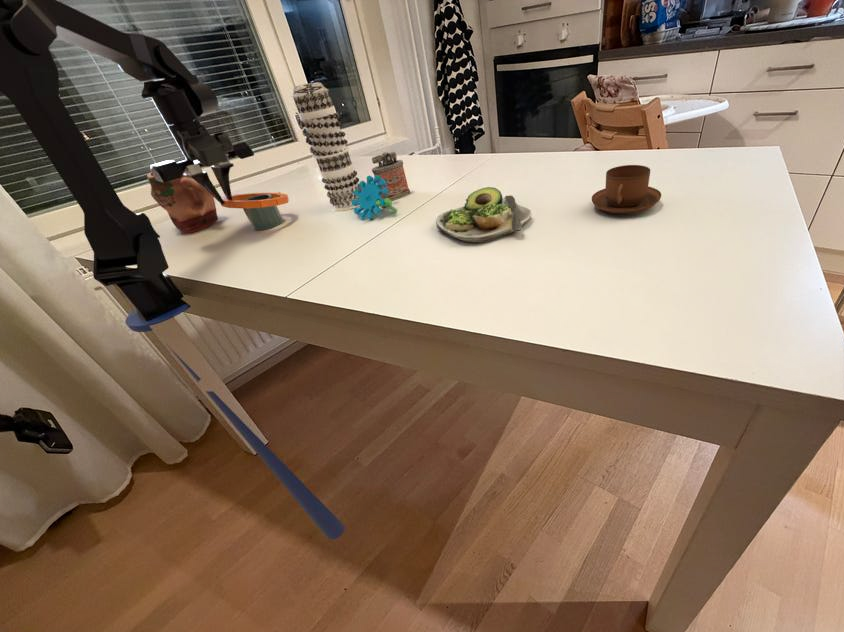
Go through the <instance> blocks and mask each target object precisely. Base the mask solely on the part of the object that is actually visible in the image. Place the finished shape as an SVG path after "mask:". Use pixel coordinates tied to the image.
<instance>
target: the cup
mask: <svg viewBox="0 0 844 632" xmlns="http://www.w3.org/2000/svg"><path fill="white" fill-rule="evenodd" d="M272 198H273V197H272V195H271V194H263V195H258V196H254V197H251V198H248V199H246V200H244V201H248V200H264V199H272ZM242 210H243V211H244V214H245V216H246V217H247V219H248V221H249V223H250V225H251V228H253V230H254V231H266V230H269V229H273V228H275V227H277V226H279V225H281V224H282V223H284V218H283V216H282V214H281V212H280V209H279V207H278V205H277V206H270V207H261V208H242Z"/></svg>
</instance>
